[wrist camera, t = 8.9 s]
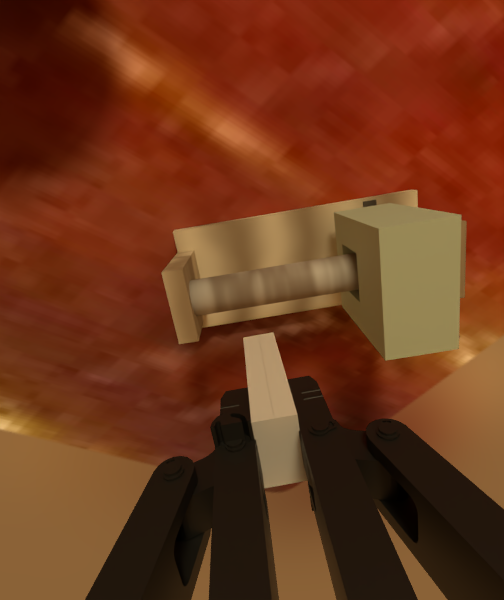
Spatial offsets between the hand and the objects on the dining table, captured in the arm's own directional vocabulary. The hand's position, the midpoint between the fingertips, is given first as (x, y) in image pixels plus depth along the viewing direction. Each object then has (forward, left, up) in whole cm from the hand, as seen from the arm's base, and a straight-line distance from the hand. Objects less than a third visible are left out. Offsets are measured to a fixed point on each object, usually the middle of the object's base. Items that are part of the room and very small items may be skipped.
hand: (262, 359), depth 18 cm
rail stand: (+5, 0, -20) cm, 20 cm away
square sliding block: (+11, 0, -17) cm, 20 cm away
